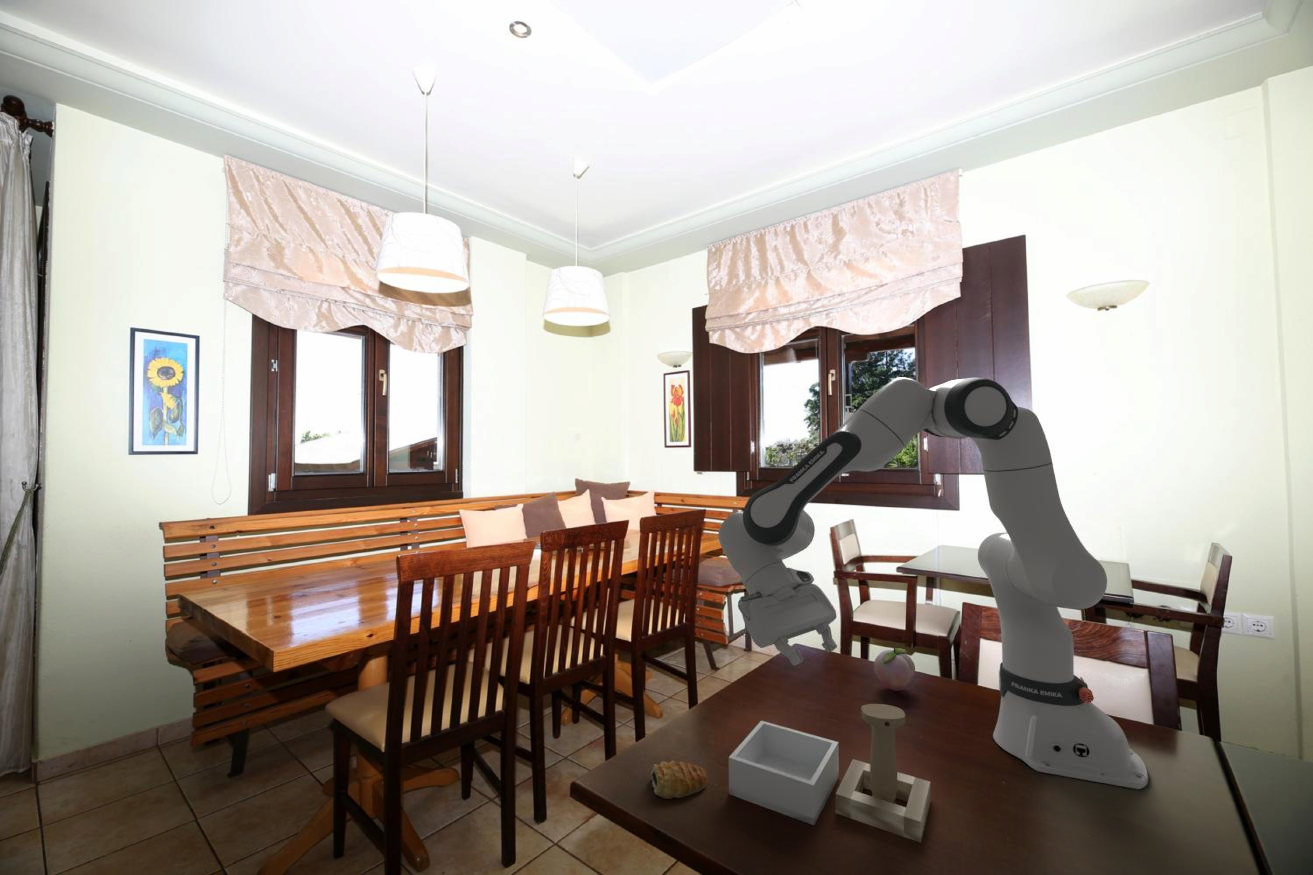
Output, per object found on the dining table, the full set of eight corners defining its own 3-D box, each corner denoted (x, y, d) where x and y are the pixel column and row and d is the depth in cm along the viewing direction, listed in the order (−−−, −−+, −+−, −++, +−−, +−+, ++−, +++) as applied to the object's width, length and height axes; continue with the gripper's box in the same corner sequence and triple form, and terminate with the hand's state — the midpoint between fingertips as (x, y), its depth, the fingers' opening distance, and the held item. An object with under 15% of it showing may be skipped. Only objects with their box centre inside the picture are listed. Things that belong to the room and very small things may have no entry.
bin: (838, 777, 95) (838, 742, 95) (814, 825, 84) (813, 785, 84) (761, 752, 103) (761, 720, 103) (729, 793, 91) (728, 757, 91)
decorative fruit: (883, 678, 134) (883, 637, 134) (919, 688, 128) (919, 645, 128) (867, 691, 127) (867, 647, 127) (904, 703, 122) (904, 657, 122)
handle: (910, 818, 85) (909, 719, 85) (866, 815, 86) (865, 717, 86) (900, 798, 90) (899, 705, 90) (859, 795, 90) (858, 702, 90)
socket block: (930, 800, 89) (930, 781, 89) (920, 842, 80) (920, 821, 80) (853, 776, 95) (852, 758, 95) (835, 812, 86) (835, 793, 86)
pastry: (700, 771, 98) (700, 749, 98) (713, 795, 91) (713, 772, 91) (648, 779, 96) (648, 757, 96) (657, 804, 89) (657, 780, 89)
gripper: (742, 588, 97) (787, 662, 90) (815, 571, 110) (860, 634, 102) (725, 607, 101) (766, 680, 93) (797, 589, 113) (839, 651, 105)
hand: (816, 656), depth 98 cm, fingers open, 8 cm apart
